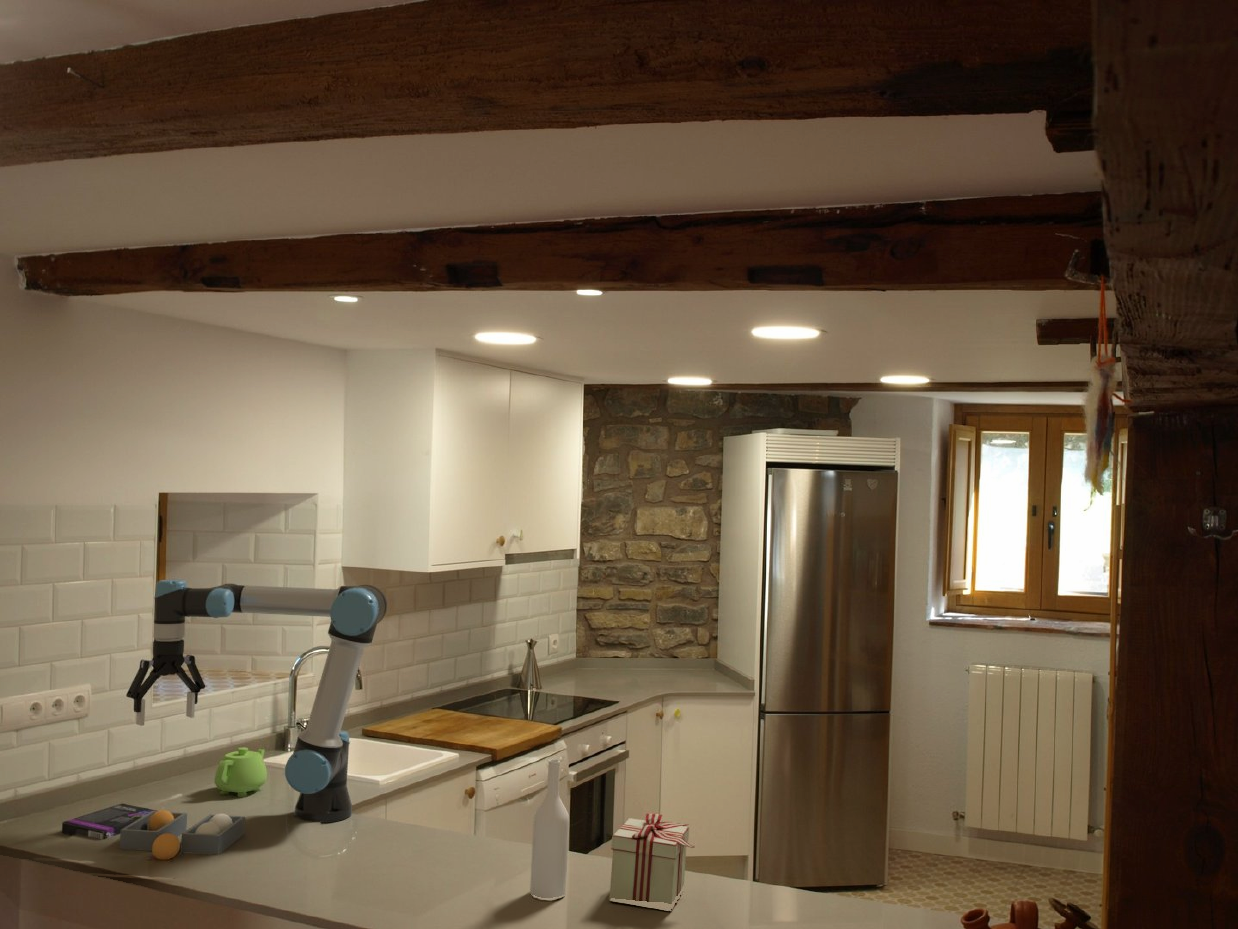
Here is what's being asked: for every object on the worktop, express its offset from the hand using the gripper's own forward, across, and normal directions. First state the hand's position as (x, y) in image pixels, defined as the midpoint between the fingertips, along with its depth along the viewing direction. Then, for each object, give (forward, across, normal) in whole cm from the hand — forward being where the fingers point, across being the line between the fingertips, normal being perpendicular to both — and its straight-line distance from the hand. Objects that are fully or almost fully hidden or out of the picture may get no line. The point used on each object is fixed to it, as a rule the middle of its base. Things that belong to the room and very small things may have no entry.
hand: (165, 721), depth 273 cm
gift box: (+30, -53, +120) cm, 135 cm away
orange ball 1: (+26, +5, +10) cm, 28 cm away
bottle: (+29, -36, +103) cm, 113 cm away
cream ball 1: (+26, +2, +26) cm, 37 cm away
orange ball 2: (+27, +12, +25) cm, 39 cm away
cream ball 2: (+26, -4, +22) cm, 34 cm away
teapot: (+27, -31, -13) cm, 43 cm away
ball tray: (+27, +7, +19) cm, 34 cm away
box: (+27, +10, -6) cm, 29 cm away
